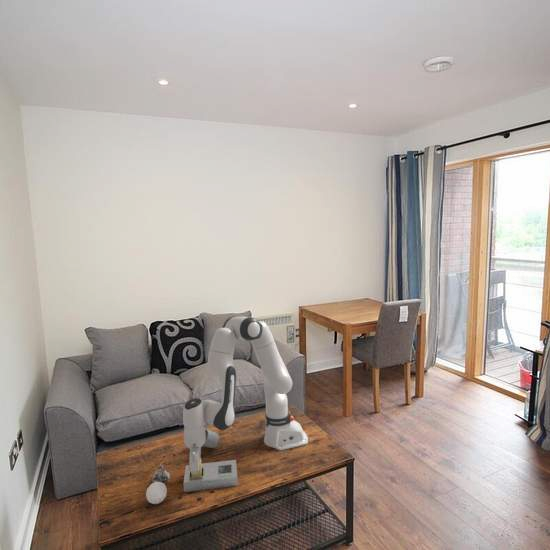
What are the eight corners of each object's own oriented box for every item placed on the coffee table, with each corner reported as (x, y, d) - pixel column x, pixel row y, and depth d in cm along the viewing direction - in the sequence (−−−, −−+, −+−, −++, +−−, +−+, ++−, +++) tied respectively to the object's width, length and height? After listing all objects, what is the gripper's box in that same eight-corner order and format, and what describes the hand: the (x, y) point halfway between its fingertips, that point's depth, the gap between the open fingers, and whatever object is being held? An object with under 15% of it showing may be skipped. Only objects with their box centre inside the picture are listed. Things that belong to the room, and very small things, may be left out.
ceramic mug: (213, 452, 185) (222, 441, 184) (199, 449, 181) (209, 437, 179) (208, 435, 194) (217, 424, 193) (195, 431, 189) (204, 420, 188)
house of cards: (144, 491, 156) (143, 474, 155) (150, 477, 165) (149, 461, 164) (166, 490, 156) (165, 472, 156) (171, 476, 165) (170, 460, 164)
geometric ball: (168, 505, 147) (167, 486, 146) (147, 511, 144) (146, 492, 143) (166, 493, 154) (165, 474, 153) (145, 499, 151) (144, 480, 150)
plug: (202, 477, 163) (201, 458, 162) (201, 483, 159) (200, 463, 158) (190, 479, 162) (189, 459, 162) (189, 485, 159) (188, 465, 158)
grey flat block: (236, 468, 169) (236, 459, 169) (237, 485, 158) (237, 476, 157) (186, 473, 166) (185, 465, 166) (183, 492, 154) (183, 482, 154)
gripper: (201, 451, 149) (203, 483, 151) (203, 425, 169) (204, 454, 171) (185, 453, 148) (187, 485, 150) (189, 427, 168) (190, 456, 170)
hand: (196, 468), depth 160 cm, fingers closed on plug, 4 cm apart
